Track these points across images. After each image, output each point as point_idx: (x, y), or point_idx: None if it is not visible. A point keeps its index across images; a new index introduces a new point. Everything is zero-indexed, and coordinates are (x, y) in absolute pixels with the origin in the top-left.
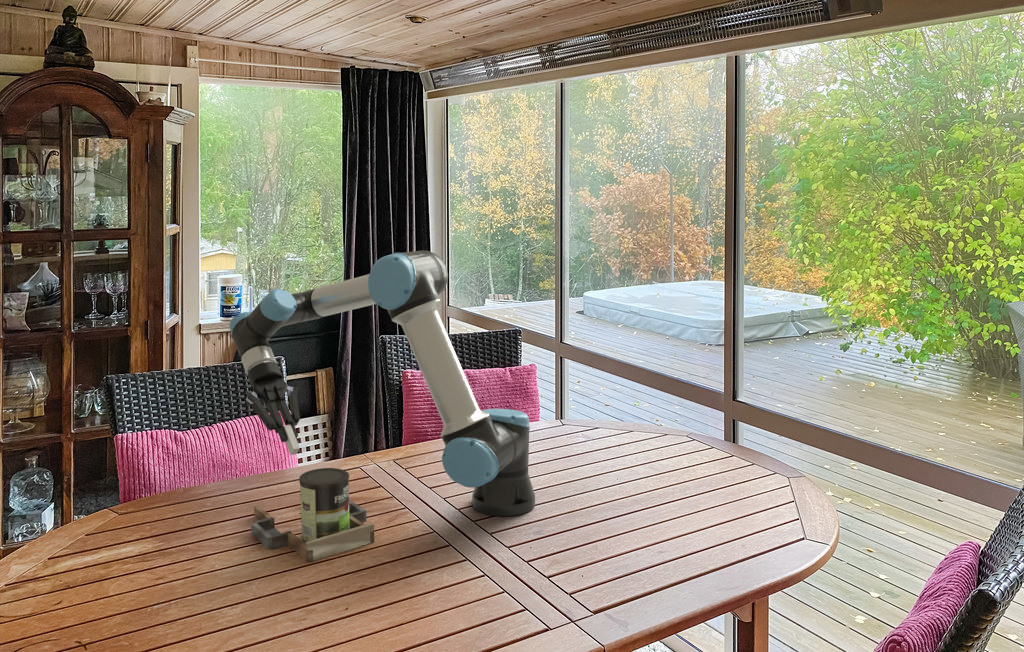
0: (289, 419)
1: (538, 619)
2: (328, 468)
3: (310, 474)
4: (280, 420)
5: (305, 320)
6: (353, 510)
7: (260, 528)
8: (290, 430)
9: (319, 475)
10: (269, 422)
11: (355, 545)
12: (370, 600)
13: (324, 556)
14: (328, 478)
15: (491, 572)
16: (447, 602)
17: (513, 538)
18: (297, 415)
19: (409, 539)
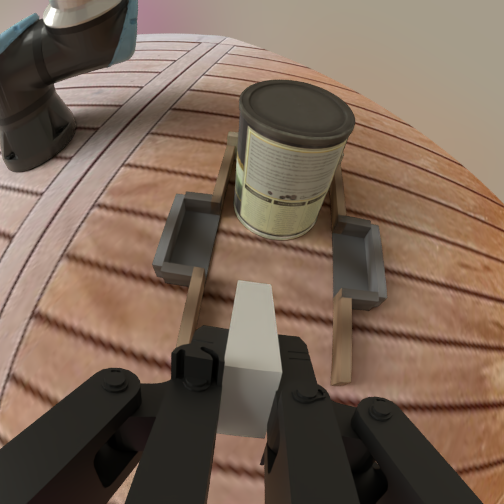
0: (200, 405)
1: (231, 49)
2: (261, 121)
3: (319, 127)
4: (300, 421)
5: None
6: (176, 231)
7: (379, 265)
8: (246, 337)
9: (303, 113)
10: (406, 418)
11: None
12: None
13: None
14: (296, 97)
15: (196, 74)
16: (262, 73)
17: (121, 93)
18: (92, 399)
19: (188, 135)
